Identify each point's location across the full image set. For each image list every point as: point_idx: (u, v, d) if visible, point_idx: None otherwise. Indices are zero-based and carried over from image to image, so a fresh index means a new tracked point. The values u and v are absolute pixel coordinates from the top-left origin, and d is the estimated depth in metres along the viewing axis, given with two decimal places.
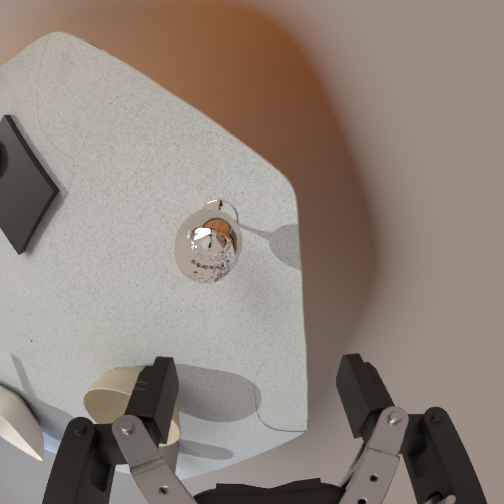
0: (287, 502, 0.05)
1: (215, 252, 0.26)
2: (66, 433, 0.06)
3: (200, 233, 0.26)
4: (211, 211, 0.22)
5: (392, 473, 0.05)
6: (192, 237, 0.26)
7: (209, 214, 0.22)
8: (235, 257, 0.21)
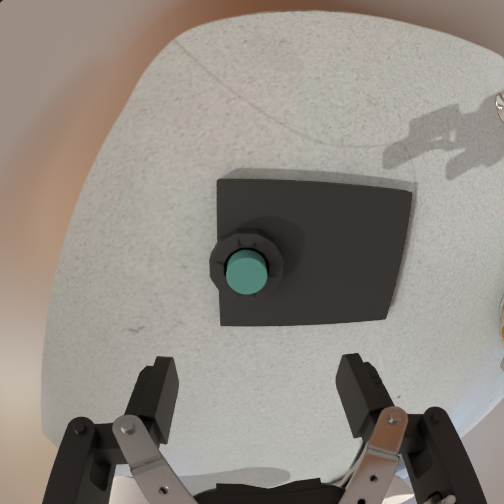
0: (287, 502, 0.05)
1: None
2: (67, 433, 0.06)
3: None
4: None
5: (392, 473, 0.05)
6: None
7: None
8: None
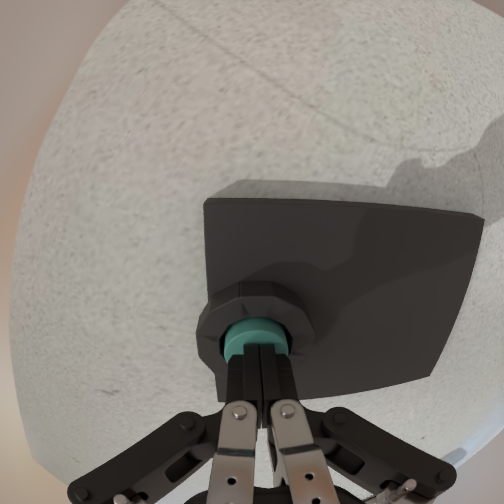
0: (287, 502, 0.05)
1: None
2: (170, 421, 0.08)
3: None
4: None
5: (324, 463, 0.06)
6: None
7: None
8: None
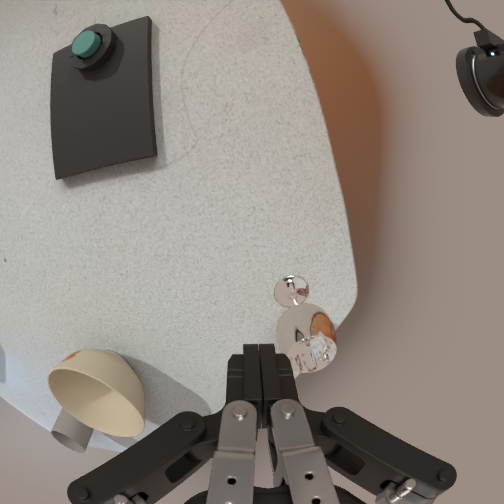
0: (287, 502, 0.05)
1: None
2: (170, 421, 0.08)
3: None
4: (327, 317, 0.25)
5: (324, 463, 0.06)
6: None
7: (328, 321, 0.24)
8: (327, 363, 0.23)
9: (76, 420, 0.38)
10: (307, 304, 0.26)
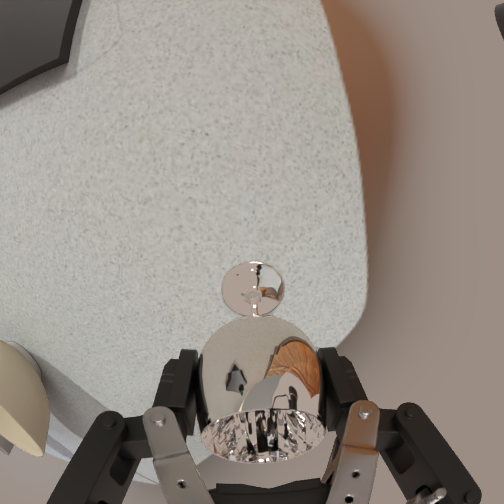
0: (287, 502, 0.05)
1: None
2: (94, 425, 0.07)
3: None
4: (313, 354, 0.10)
5: (374, 467, 0.05)
6: None
7: (313, 367, 0.10)
8: (301, 450, 0.09)
9: None
10: (269, 319, 0.11)
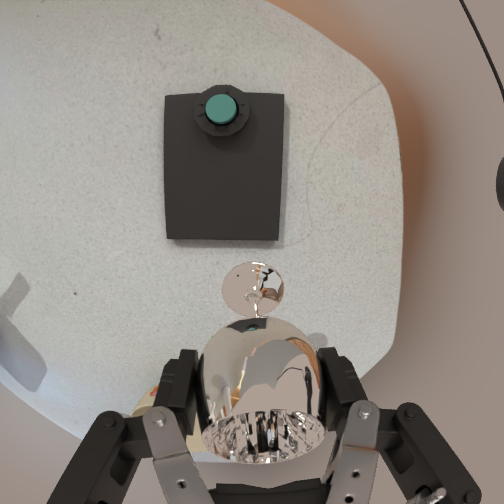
0: (287, 502, 0.05)
1: None
2: (94, 425, 0.07)
3: None
4: (313, 355, 0.10)
5: (374, 467, 0.05)
6: None
7: (314, 368, 0.10)
8: (301, 451, 0.09)
9: None
10: (269, 321, 0.11)
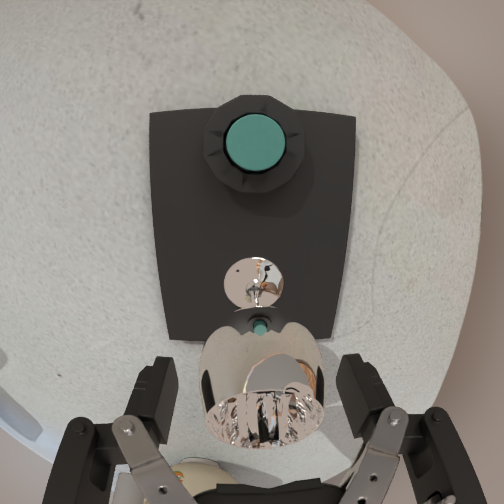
0: (287, 502, 0.05)
1: None
2: (66, 433, 0.06)
3: None
4: (311, 342, 0.11)
5: (392, 473, 0.05)
6: None
7: (312, 353, 0.10)
8: (301, 435, 0.10)
9: (139, 496, 0.33)
10: (269, 309, 0.12)
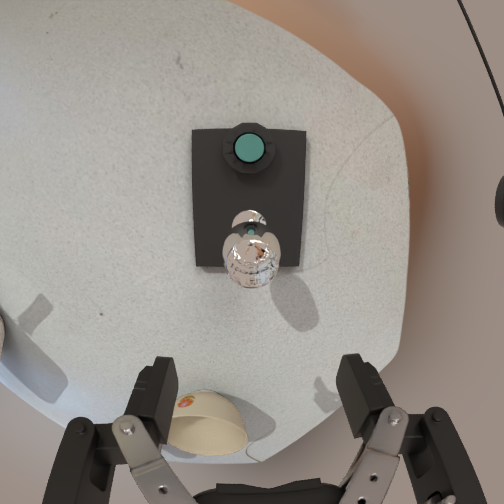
0: (287, 502, 0.05)
1: (241, 257, 0.29)
2: (66, 433, 0.06)
3: None
4: (273, 233, 0.26)
5: (392, 473, 0.05)
6: None
7: (273, 235, 0.25)
8: (270, 280, 0.25)
9: None
10: (255, 221, 0.27)
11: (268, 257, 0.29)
